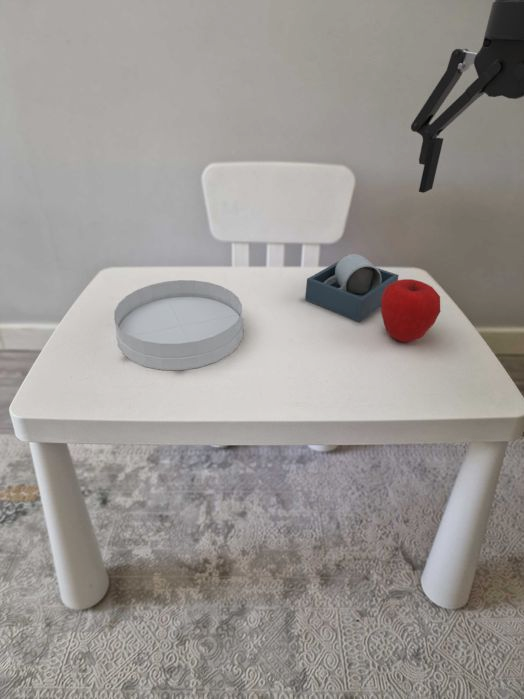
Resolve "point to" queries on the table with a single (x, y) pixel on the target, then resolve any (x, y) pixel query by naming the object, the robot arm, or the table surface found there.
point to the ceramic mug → (355, 275)
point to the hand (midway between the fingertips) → (474, 201)
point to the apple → (409, 309)
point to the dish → (179, 324)
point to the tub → (345, 295)
